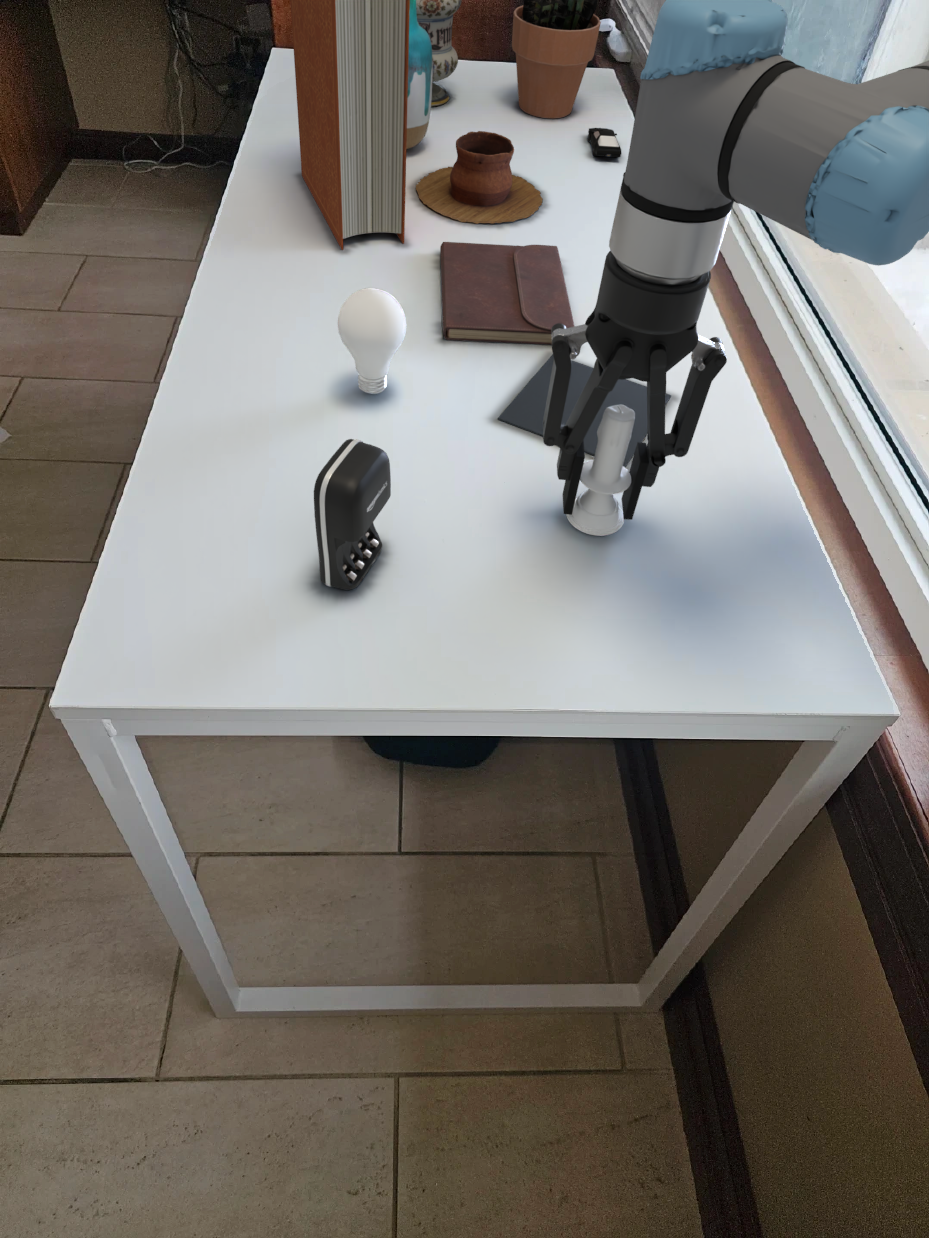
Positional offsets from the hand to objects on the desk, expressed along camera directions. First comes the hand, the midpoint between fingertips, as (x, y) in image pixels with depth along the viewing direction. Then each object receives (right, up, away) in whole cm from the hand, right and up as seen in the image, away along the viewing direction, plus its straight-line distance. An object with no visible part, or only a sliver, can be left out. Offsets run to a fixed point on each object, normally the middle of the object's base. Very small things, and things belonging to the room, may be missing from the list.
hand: (597, 506), depth 78 cm
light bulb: (-22, +13, +11) cm, 28 cm away
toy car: (+10, +63, +57) cm, 86 cm away
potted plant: (+1, +75, +66) cm, 100 cm away
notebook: (-7, +28, +26) cm, 39 cm away
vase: (-23, +61, +52) cm, 83 cm away
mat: (+1, +12, +12) cm, 17 cm away
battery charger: (-21, -6, -5) cm, 22 cm away
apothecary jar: (-20, +77, +66) cm, 103 cm away
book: (-28, +45, +38) cm, 65 cm away
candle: (0, -1, +1) cm, 1 cm away
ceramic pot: (-10, +49, +43) cm, 66 cm away
